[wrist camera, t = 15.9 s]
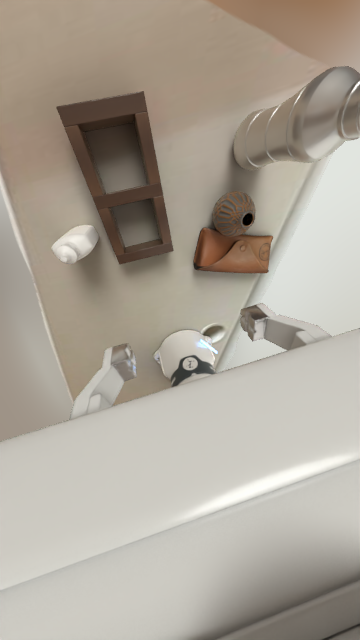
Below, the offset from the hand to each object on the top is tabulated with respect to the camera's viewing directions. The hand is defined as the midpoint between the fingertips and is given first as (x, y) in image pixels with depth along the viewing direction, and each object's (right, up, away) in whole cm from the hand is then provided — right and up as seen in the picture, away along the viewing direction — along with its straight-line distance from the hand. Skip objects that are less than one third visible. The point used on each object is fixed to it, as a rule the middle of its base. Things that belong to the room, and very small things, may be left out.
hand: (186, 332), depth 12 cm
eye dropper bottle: (-18, +16, +19) cm, 31 cm away
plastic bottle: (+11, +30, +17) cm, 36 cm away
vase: (+8, +22, +22) cm, 32 cm away
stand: (-9, +22, +17) cm, 29 cm away
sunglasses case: (+11, +17, +27) cm, 34 cm away
